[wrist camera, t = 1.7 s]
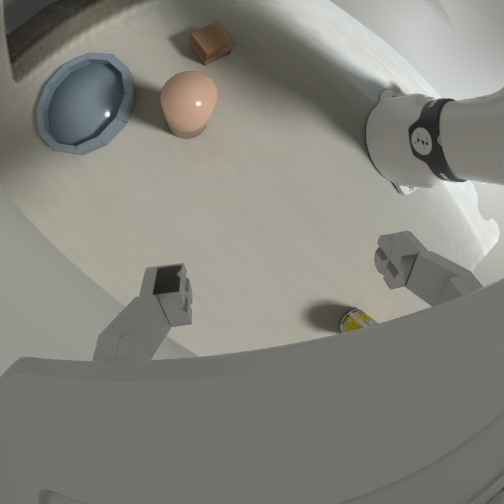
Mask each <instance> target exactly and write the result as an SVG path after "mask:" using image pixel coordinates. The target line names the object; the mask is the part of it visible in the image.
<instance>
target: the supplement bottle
mask: <svg viewBox="0 0 504 504" xmlns="http://www.w3.org/2000/svg"><path fill="white" fill-rule="evenodd" d="M376 324H378V323H377V322H376V321H374V320H373V319H372V318H371V317H369V316H368V315H367V314H365V313H364V312H363V311H361V310H358V309H355V310H352V311H350V312H348V313H347V314H346V315H345V316H344V317H343V319H342V321H341V323H340V331H341V333H345V332H349V331H353V330H357V329H361V328H365V327H368V326H372V325H376Z"/></svg>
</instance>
